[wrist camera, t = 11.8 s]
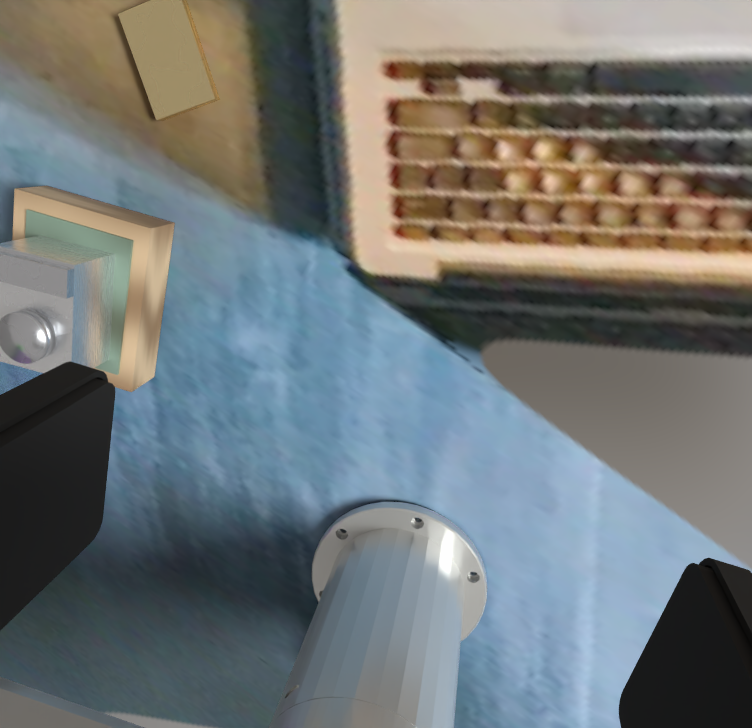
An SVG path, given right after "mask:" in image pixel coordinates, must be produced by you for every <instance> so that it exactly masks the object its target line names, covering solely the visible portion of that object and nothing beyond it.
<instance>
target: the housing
mask: <svg viewBox="0 0 752 728" xmlns="http://www.w3.org/2000/svg"><path fill="white" fill-rule="evenodd" d="M114 264H115V254H114V253H110V252H106V251H102V250H98V249H94V248H90V247H86V246H82V245H78V244H74V243H70V242H66V241H61V240H57V239H53V238H49V237H45V236H41V235H39V236H34V237H29V238H24V239H19V240H14V241H9V242H4V243H0V361H1V362H4V363H8V364H12V365H16V366H19V367H23V368H27V369H30V370H34V371H38V372H41V373H45V372H47V371H49V370H51V369H53V368H55V367H57V366H59V365H61V364H63V363H66V362H69V361H70V362H74V363H78V364H81V365H84V366H87V367H91V368H94V367H96V366H98V365H100V364H102V363H104V362H105V361H107V360H109V357H110V338H111V320H112V301H113V283H114Z"/></svg>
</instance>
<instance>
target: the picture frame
mask: <svg viewBox="0 0 752 728" xmlns="http://www.w3.org/2000/svg"><path fill="white" fill-rule="evenodd" d="M174 224H175V223H173V222H170V221H166V220H163V219H159V218H156V217H153V216H149V215H146V214H142V213H139V212H135V211H132V210H129V209H125V208H122V207H118V206H115V205H111V204H108V203H104V202H101V201H98V200H94V199H91V198H87V197H84V196H80V195H77V194H74V193H70V192H67V191H63V190H60V189H56V188H53V187H50V186H39V187H28V188H16V189H15V192H14V216H13V239H12V241H14V240H19V239H24V238H29V237H34V236H39V235H41V236H45V237H49V238H53V239H57V240H61V241H66V242H70V243H74V244H78V245H82V246H86V247H90V248H94V249H98V250H102V251H106V252H110V253H114V254H115V264H114V283H113V301H112V320H111V338H110V357H109V360H107V361H105V362H104V363H102V364H100V365H98V366H96V367H94V369H97V370H100V371H104V372H105V374H106V375H107V378H108V382H110V383H112V384H113V385H114V387H117V388H120V389H123V390H126V391H130V392H132V391H134V390H135V389H137V388H138V387H140V386H141V385H143V384H144V383H146V382H147V381H149V380H150V379H152V378H153V377H154V375H155V367H156V360H157V352H158V345H159V337H160V330H161V322H162V315H163V307H164V300H165V292H166V285H167V277H168V270H169V262H170V254H171V247H172V239H173V232H174Z"/></svg>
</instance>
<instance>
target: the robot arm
mask: <svg viewBox="0 0 752 728" xmlns="http://www.w3.org/2000/svg"><path fill="white" fill-rule="evenodd" d="M114 401H115V387H114V385H113V384H112V383H110V382H108V378H107V375H106V374H105V372H104V371H100V370H97V369H94V368H91V367H87V366H84V365H81V364H78V363H74V362H70V361H69V362H66V363H63V364H61V365H59V366H57V367H55V368H53V369H51V370H49V371H47V372H45V373H43V374H41V375H39V376H37V377H35V378H33V379H31V380H29V381H27V382H25V383H23V384H21V385H19V386H17V387H15V388H13V389H11V390H9V391H7V392H6V393H4V394H2V395H0V630H1V629H2V628H3V627H5V626H6V625H7V624H8V623H9V622H10V621H11V620H12V619H13V618H14V617H15V616H16V615H17V614H18V613H19V612H20V611H21V610H22V609H23V608H24V607H25V606H26V605H27V604H28V603H29V602H30V601H31V600H32V599H33V598H34V597H35V596H36V595H37V594H38V593H39V592H40V591H42V590H43V589H44V588H45V587H46V586H47V585H48V584H49V583H50V582H51V581H52V580H53V579H54V578H55V577H56V576H57V575H58V574H59V573H60V572H61V571H62V570H63V569H64V568H65V567H66V566H67V565H68V564H69V563H70V562H71V561H72V560H73V559H74V558H75V557H76V556H77V555H79V554H80V553H81V552H82V551H83V550H84V549H85V548H86V547H87V546H88V545H89V544H90V543H91V542H92V541H93V539H94V538H95V537H96V535H97V533H98V531H99V529H100V527H101V524H102V519H103V510H104V500H105V491H106V481H107V471H108V461H109V451H110V441H111V431H112V421H113V411H114ZM418 518H420V519H418ZM312 583H313V589H314V593H315V595H316V598H317V600H318V605H317V608H316V610H315V613H314V615H313V618H312V620H311V623H310V625H309V628H308V630H307V633H306V636H305V638H304V641H303V643H302V646H301V648H300V651H299V653H298V656H297V658H296V661H295V663H294V666H293V668H292V671H291V673H290V676H289V678H288V681H287V683H286V686H285V688H284V691H283V693H282V696H281V698H280V701H279V703H278V706H277V709H276V711H275V714H274V716H273V719H272V721H271V724H270V726H269V728H454V717H455V705H456V692H457V680H458V667H459V655H460V642H461V641H462V640H464V639H465V638H467V637H468V635H469V634H470V633H471V632H472V631H473V630H474V629H475V627H476V626H477V624H478V622H479V621H480V619H481V617H482V615H483V612H484V608H485V604H486V600H487V578H486V570H485V567H484V564H483V561H482V558H481V556H480V554H479V552H478V551H477V549H476V547H475V545H474V544H473V542H472V541H471V540H470V539H469V538H468V536H467V535H466V534H465V533H464V532H463V531H462V530H461V529H460V528H459V527H457V526H456V525H455V524H454V523H453V522H451V521H450V520H449V519H447V518H445V517H443V516H442V515H440V514H438V513H436V512H435V511H432V510H429V509H426V508H424V507H421V506H418V505H413V504H408V503H403V502H379V503H372V504H367V505H364V506H361V507H358V508H355V509H353V510H351V511H349V512H347V513H346V514H344V515H342V516H341V517H339V518H338V519H337V520H336V521H335V522H334V523H333V524H332V525H331V526H330V527H329V528H328V529H327V531H326V532H325V534H324V535H323V537H322V538H321V540H320V542H319V545H318V547H317V549H316V551H315V555H314V558H313V562H312ZM619 718H620V723H621V728H752V573H751V572H750V571H749V570H746V569H744V568H740V567H737V566H734V565H731V564H727V563H724V562H721V561H718V560H714V559H711V558H706V559H704V560H703V561H702V562H700V564H699V565H698V564H695V563H692V564H689V565H688V566H687V567H686V569H685V570H684V572H683V574H682V576H681V578H680V580H679V582H678V584H677V586H676V588H675V590H674V592H673V594H672V596H671V598H670V600H669V601H668V603H667V605H666V607H665V609H664V611H663V613H662V615H661V617H660V619H659V621H658V623H657V625H656V627H655V629H654V631H653V633H652V635H651V637H650V639H649V641H648V643H647V644H646V646H645V648H644V650H643V652H642V654H641V656H640V658H639V660H638V662H637V664H636V666H635V668H634V670H633V672H632V674H631V676H630V678H629V680H628V682H627V684H626V686H625V688H624V689H623V692H622V694H621V698H620V704H619ZM0 728H144V727H141V726H138V725H135V724H132V723H130V722H127V721H124V720H121V719H118V718H116V717H113V716H110V715H107V714H104V713H101V712H99V711H96V710H93V709H90V708H87V707H84V706H82V705H79V704H76V703H73V702H70V701H67V700H64V699H62V698H59V697H56V696H53V695H50V694H47V693H45V692H42V691H39V690H36V689H33V688H30V687H28V686H25V685H22V684H19V683H16V682H13V681H11V680H8V679H5V678H2V677H0Z"/></svg>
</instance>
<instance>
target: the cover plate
mask: <svg viewBox="0 0 752 728" xmlns="http://www.w3.org/2000/svg"><path fill="white" fill-rule="evenodd" d="M118 15H119V18H120V21H121V24H122V27H123V29H124V32H125V35H126V38H127V40H128V43H129V46H130V49H131V51H132V54H133V57H134V60H135V63H136V65H137V68H138V71H139V74H140V76H141V79H142V82H143V85H144V88H145V90H146V93H147V96H148V99H149V101H150V104H151V107H152V110H153V112H154V115H155V118H156V120H160V121H163V120H166V119H168V118H171V117H174V116H177V115H179V114H182V113H185V112H188V111H190V110H193V109H196V108H198V107H201V106H204V105H207V104H209V103H212V102H215V101H218V100H220V99H219V96H218V93H217V90H216V87H215V84H214V81H213V78H212V75H211V72H210V69H209V66H208V63H207V60H206V57H205V54H204V51H203V48H202V45H201V42H200V39H199V36H198V33H197V30H196V27H195V24H194V21H193V18H192V15H191V12H190V9H189V6H188V3H187V0H150V1H147V2H145V3H143V4H140V5H138V6H136V7H133V8H131V9H129V10H126V11H124V12H121V13H119V14H118Z"/></svg>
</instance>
